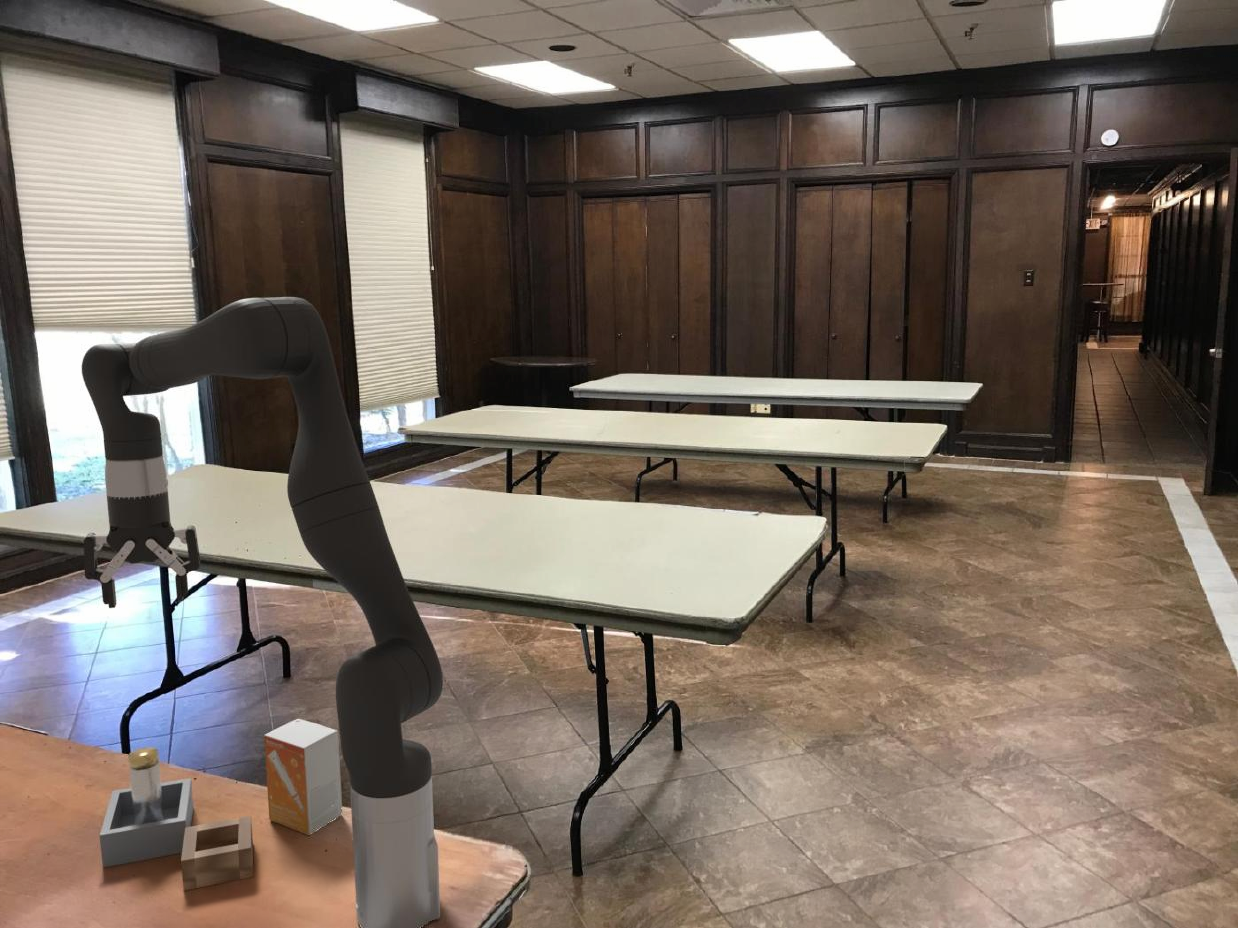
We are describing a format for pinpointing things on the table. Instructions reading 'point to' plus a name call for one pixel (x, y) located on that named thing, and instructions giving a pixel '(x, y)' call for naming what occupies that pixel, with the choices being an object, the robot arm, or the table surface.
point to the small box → (303, 775)
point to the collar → (217, 853)
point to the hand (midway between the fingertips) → (147, 603)
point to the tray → (146, 826)
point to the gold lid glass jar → (146, 785)
